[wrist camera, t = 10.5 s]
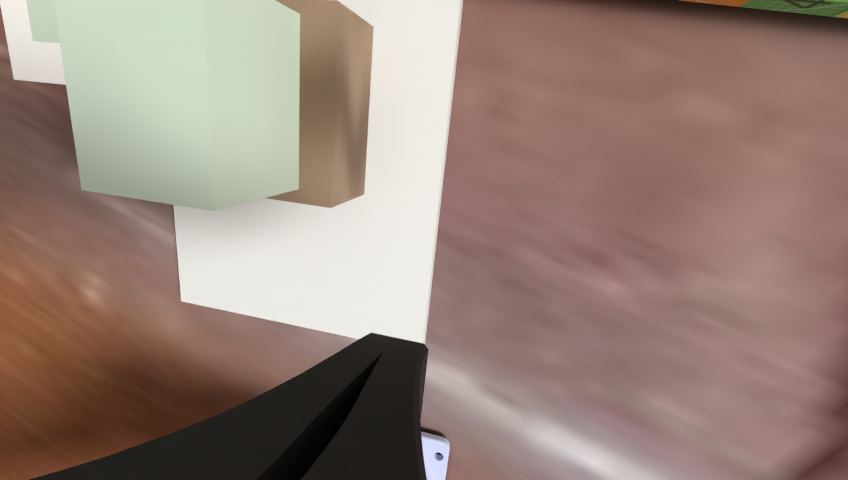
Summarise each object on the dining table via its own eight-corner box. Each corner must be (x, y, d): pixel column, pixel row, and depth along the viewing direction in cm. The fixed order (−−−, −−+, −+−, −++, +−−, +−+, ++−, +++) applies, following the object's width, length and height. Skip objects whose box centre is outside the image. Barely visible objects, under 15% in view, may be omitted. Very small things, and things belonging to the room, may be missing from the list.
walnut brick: (364, 194, 18) (330, 208, 15) (230, 175, 20) (173, 184, 16) (373, 26, 16) (337, 0, 13) (224, 18, 18) (157, -8, 14)
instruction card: (174, 95, 20) (169, 95, 20) (18, 80, 22) (11, 79, 22) (160, -95, 18) (154, -99, 17) (-13, -95, 20) (-21, -98, 19)
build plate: (424, 346, 20) (422, 352, 20) (189, 296, 23) (181, 301, 22) (470, -65, 15) (468, -73, 15) (162, -69, 18) (150, -75, 17)
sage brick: (298, 189, 15) (214, 211, 11) (196, 174, 16) (81, 190, 12) (300, 13, 14) (200, -40, 9) (186, 8, 14) (47, -44, 10)
